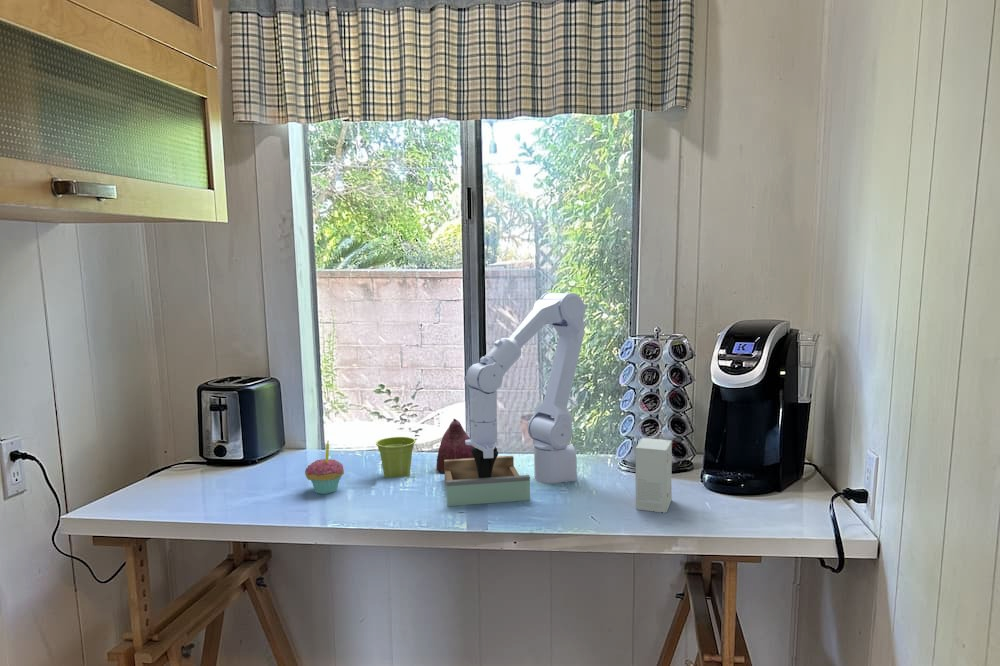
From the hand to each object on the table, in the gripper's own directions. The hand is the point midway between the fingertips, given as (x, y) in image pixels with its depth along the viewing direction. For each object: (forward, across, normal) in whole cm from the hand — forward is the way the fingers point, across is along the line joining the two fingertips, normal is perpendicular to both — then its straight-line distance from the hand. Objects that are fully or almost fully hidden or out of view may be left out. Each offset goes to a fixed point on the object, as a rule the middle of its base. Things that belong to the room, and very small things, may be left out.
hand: (484, 481), depth 133 cm
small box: (+4, +10, +34) cm, 36 cm away
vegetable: (+4, -23, -4) cm, 24 cm away
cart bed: (+4, -3, 0) cm, 5 cm away
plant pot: (+4, -20, -19) cm, 28 cm away
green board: (+2, +5, 0) cm, 6 cm away
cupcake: (+4, -13, -35) cm, 37 cm away
